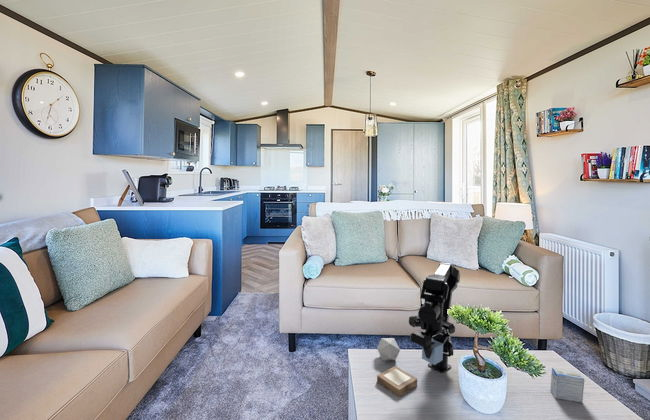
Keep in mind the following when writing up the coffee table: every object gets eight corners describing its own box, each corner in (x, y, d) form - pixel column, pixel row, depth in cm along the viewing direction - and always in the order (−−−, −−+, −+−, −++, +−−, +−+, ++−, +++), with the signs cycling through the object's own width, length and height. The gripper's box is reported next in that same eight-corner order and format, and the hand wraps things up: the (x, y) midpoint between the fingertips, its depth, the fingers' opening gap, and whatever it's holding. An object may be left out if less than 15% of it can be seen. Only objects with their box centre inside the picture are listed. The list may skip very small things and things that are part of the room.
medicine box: (576, 395, 108) (578, 371, 107) (582, 403, 104) (585, 378, 103) (549, 390, 110) (551, 367, 110) (555, 398, 106) (556, 374, 105)
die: (394, 369, 123) (406, 345, 126) (374, 356, 125) (386, 333, 127) (389, 364, 132) (401, 342, 134) (371, 352, 133) (382, 331, 135)
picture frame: (395, 372, 120) (395, 365, 120) (417, 385, 112) (417, 378, 112) (377, 381, 114) (377, 375, 114) (398, 396, 106) (399, 389, 106)
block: (430, 353, 115) (430, 338, 114) (442, 360, 111) (443, 343, 111) (421, 358, 112) (422, 342, 111) (434, 364, 108) (434, 348, 107)
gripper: (429, 300, 122) (428, 338, 123) (398, 311, 111) (397, 354, 112) (456, 309, 113) (454, 351, 115) (425, 323, 102) (423, 369, 103)
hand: (432, 355), depth 111 cm, fingers closed on block, 5 cm apart
